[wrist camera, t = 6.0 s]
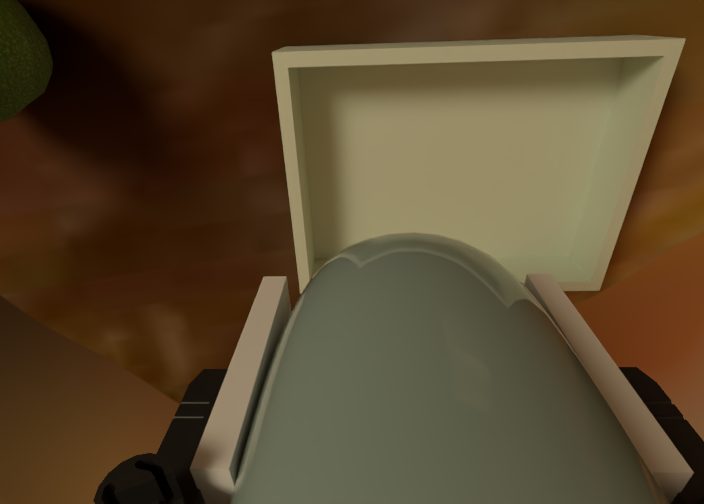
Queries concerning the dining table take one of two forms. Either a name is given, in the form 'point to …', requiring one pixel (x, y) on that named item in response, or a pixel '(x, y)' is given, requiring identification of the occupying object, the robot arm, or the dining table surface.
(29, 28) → the avocado
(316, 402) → the cup
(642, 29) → the dining table surface
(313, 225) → the tray
